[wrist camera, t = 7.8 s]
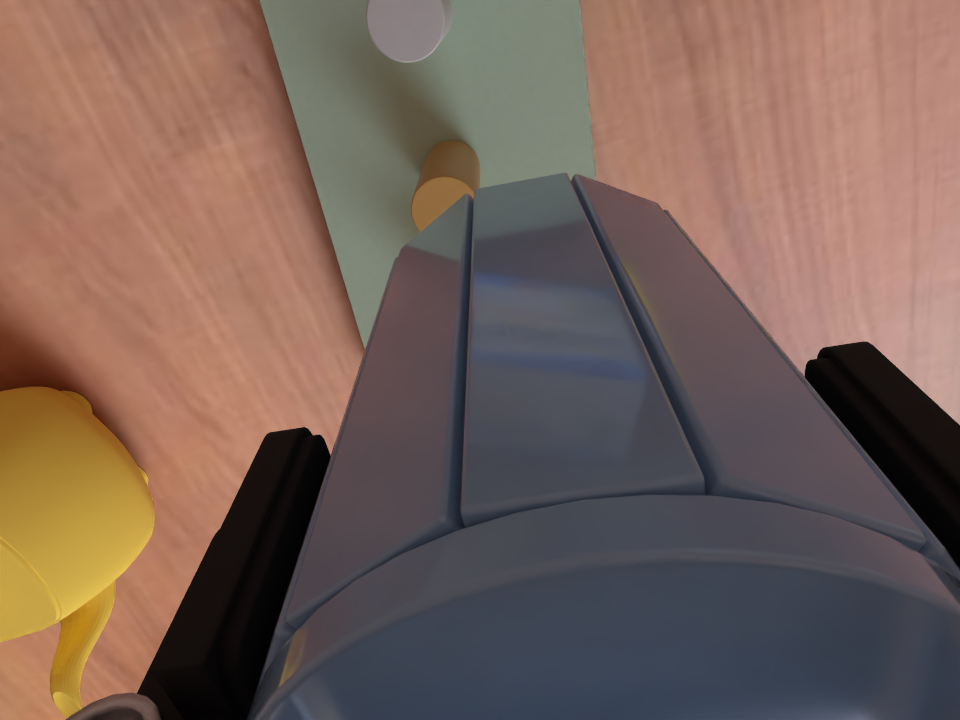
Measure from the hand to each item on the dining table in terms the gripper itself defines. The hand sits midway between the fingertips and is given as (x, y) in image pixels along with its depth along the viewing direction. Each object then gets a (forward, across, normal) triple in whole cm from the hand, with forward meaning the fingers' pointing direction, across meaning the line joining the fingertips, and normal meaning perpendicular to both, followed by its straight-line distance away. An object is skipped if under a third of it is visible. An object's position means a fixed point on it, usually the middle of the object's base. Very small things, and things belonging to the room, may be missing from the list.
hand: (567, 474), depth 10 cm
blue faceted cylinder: (+4, 0, 0) cm, 4 cm away
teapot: (+23, +28, +13) cm, 38 cm away
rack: (+22, +3, 0) cm, 22 cm away
